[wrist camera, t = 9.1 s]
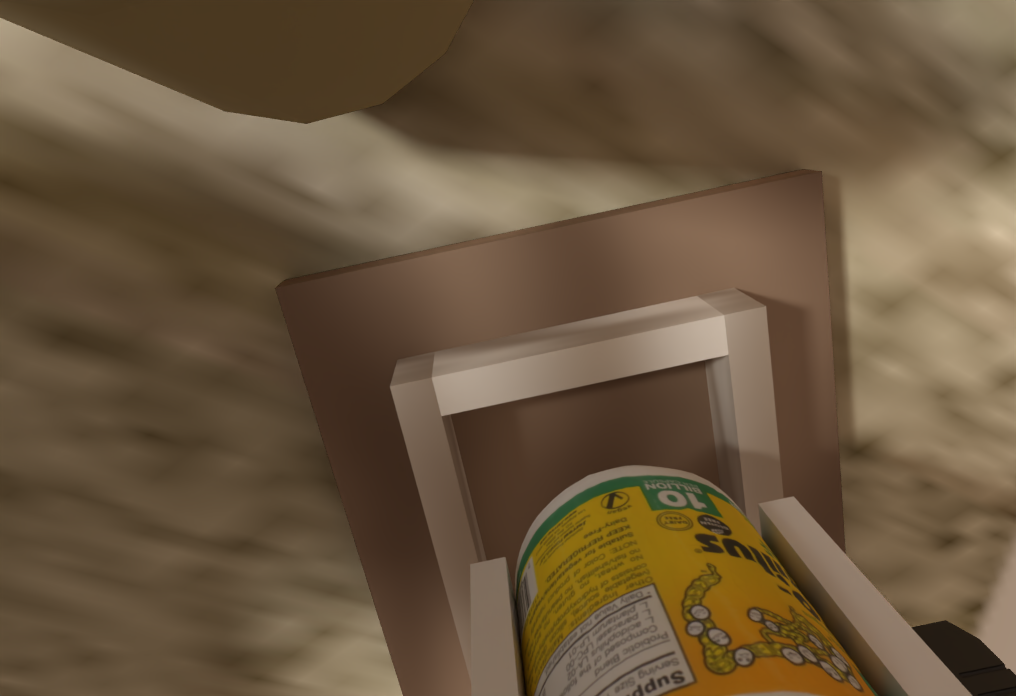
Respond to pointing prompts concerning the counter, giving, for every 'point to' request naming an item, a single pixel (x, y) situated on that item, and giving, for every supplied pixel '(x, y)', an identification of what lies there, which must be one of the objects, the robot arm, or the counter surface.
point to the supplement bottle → (665, 598)
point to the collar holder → (566, 385)
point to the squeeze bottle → (258, 47)
